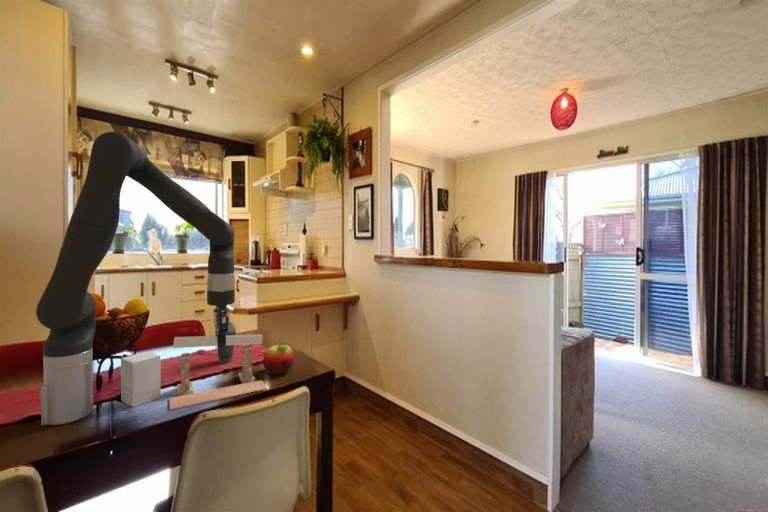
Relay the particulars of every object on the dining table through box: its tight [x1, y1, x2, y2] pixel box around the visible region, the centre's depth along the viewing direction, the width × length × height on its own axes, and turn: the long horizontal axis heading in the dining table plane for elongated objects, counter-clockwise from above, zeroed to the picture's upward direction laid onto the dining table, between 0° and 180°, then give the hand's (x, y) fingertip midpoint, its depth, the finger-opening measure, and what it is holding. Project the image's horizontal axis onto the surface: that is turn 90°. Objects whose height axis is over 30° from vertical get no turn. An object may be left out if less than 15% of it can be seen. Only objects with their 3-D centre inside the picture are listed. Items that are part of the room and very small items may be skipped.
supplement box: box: [120, 351, 162, 408], centre depth 96 cm, size 7×7×13 cm
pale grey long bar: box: [172, 334, 264, 349], centre depth 99 cm, size 24×2×2 cm, turn 124°
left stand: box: [176, 352, 194, 397], centre depth 102 cm, size 4×6×11 cm, turn 33°
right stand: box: [238, 344, 256, 384], centre depth 111 cm, size 4×6×11 cm, turn 33°
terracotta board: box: [169, 379, 268, 411], centre depth 100 cm, size 26×7×1 cm, turn 123°
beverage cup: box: [214, 321, 237, 364], centre depth 126 cm, size 7×7×20 cm
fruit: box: [262, 343, 295, 376], centre depth 118 cm, size 11×11×10 cm
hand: (221, 344), depth 99 cm, fingers closed on pale grey long bar, 2 cm apart
